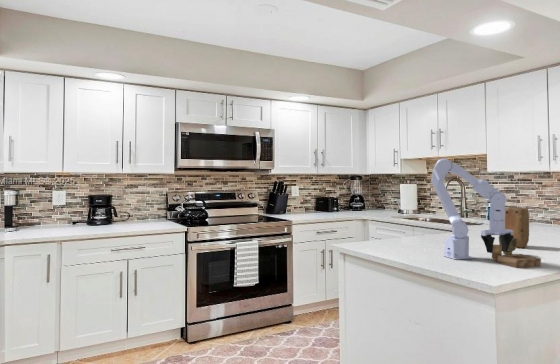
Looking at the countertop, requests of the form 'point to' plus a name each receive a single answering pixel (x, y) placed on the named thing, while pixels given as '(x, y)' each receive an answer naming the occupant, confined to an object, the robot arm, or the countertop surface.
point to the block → (518, 224)
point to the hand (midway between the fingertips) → (497, 252)
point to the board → (519, 260)
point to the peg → (496, 252)
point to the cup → (510, 246)
